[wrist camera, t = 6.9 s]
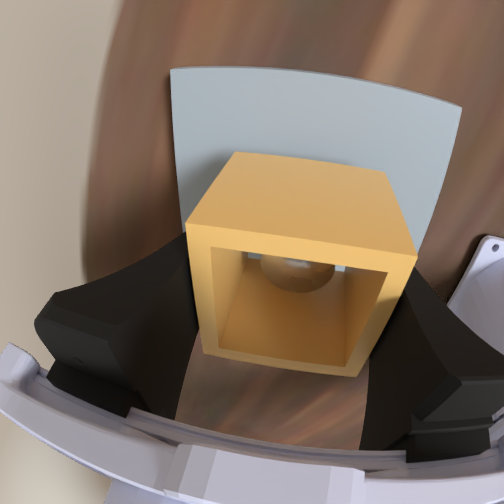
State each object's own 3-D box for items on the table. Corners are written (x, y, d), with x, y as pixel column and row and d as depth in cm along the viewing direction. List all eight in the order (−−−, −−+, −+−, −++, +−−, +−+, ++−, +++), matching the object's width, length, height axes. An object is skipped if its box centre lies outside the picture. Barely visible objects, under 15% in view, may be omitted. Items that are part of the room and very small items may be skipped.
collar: (384, 172, 10) (417, 256, 7) (353, 283, 14) (356, 377, 10) (235, 151, 11) (184, 223, 7) (235, 265, 15) (203, 353, 11)
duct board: (453, 103, 10) (511, 138, 6) (388, 301, 17) (396, 371, 14) (179, 67, 12) (115, 85, 8) (195, 272, 19) (165, 335, 15)
